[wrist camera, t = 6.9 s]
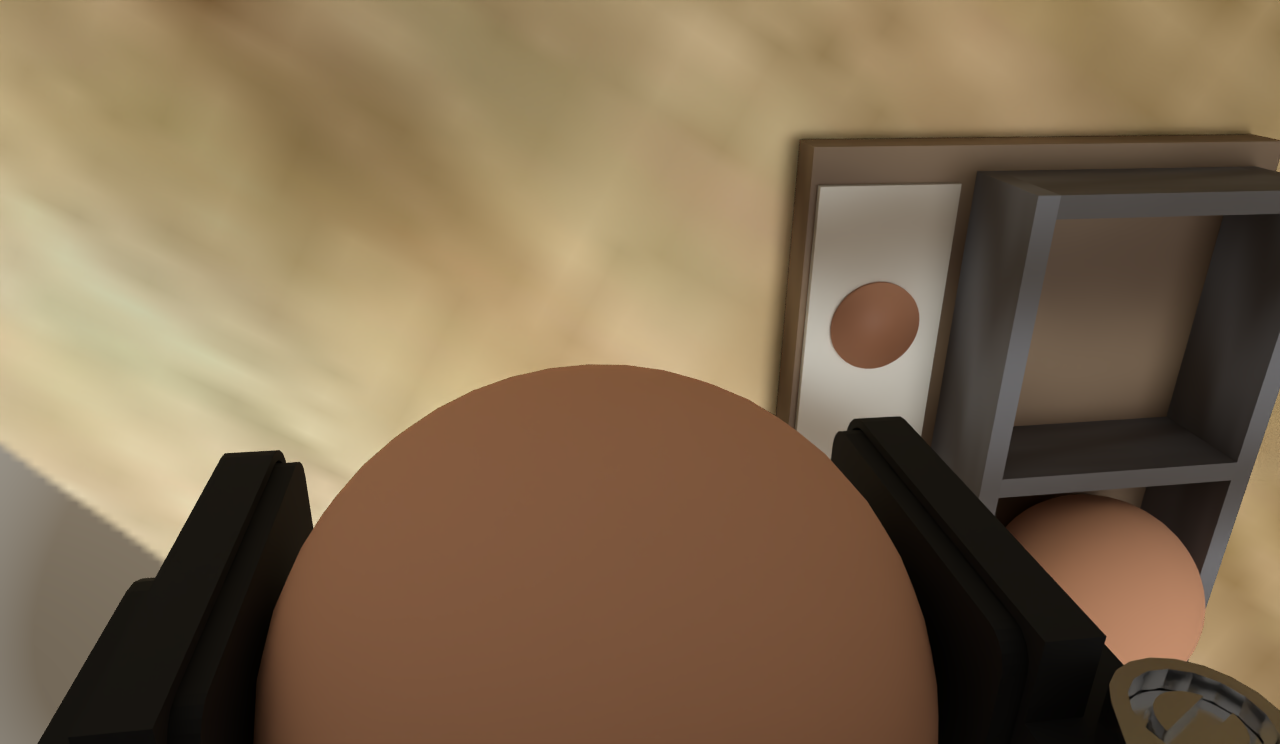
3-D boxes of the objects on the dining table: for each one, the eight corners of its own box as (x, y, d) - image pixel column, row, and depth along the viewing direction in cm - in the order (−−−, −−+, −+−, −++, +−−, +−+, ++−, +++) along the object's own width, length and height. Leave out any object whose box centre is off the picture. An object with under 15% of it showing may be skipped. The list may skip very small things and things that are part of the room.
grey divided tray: (799, 139, 24) (857, 169, 21) (1252, 134, 27) (1379, 161, 23) (755, 655, 32) (792, 748, 28) (1113, 619, 34) (1192, 701, 30)
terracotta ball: (287, 287, 9) (14, 713, 4) (830, 271, 10) (1210, 601, 5) (350, 718, 12) (234, 1344, 6) (786, 675, 13) (1006, 1194, 7)
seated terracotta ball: (966, 465, 28) (1079, 581, 23) (1136, 453, 29) (1285, 562, 24) (937, 617, 31) (1034, 754, 25) (1096, 602, 32) (1222, 731, 26)
